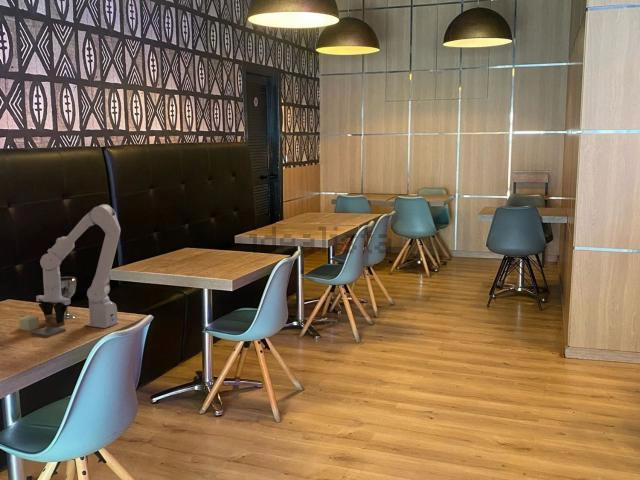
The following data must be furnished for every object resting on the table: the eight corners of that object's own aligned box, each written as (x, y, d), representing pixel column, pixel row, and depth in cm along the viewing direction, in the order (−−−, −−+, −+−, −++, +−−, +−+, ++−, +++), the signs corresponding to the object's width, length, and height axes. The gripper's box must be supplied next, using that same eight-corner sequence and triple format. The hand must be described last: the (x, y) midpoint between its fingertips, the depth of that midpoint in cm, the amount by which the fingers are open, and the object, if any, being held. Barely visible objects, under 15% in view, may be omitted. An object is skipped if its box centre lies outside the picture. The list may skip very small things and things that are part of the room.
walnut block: (64, 324, 232) (63, 314, 231) (55, 327, 228) (54, 317, 227) (55, 323, 234) (54, 312, 233) (45, 326, 230) (45, 315, 229)
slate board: (65, 331, 224) (65, 328, 223) (47, 337, 216) (47, 334, 216) (48, 328, 227) (48, 326, 226) (30, 334, 219) (30, 332, 219)
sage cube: (39, 327, 229) (38, 317, 228) (29, 331, 225) (28, 320, 224) (29, 326, 230) (29, 315, 230) (19, 329, 226) (19, 318, 226)
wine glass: (51, 319, 240) (48, 280, 237) (64, 313, 247) (61, 276, 245) (70, 320, 238) (67, 281, 236) (82, 314, 246) (80, 277, 243)
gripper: (28, 286, 228) (31, 322, 230) (59, 289, 222) (61, 326, 224) (43, 282, 234) (46, 317, 236) (74, 285, 228) (76, 321, 230)
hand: (54, 322), depth 230 cm, fingers closed on walnut block, 4 cm apart
